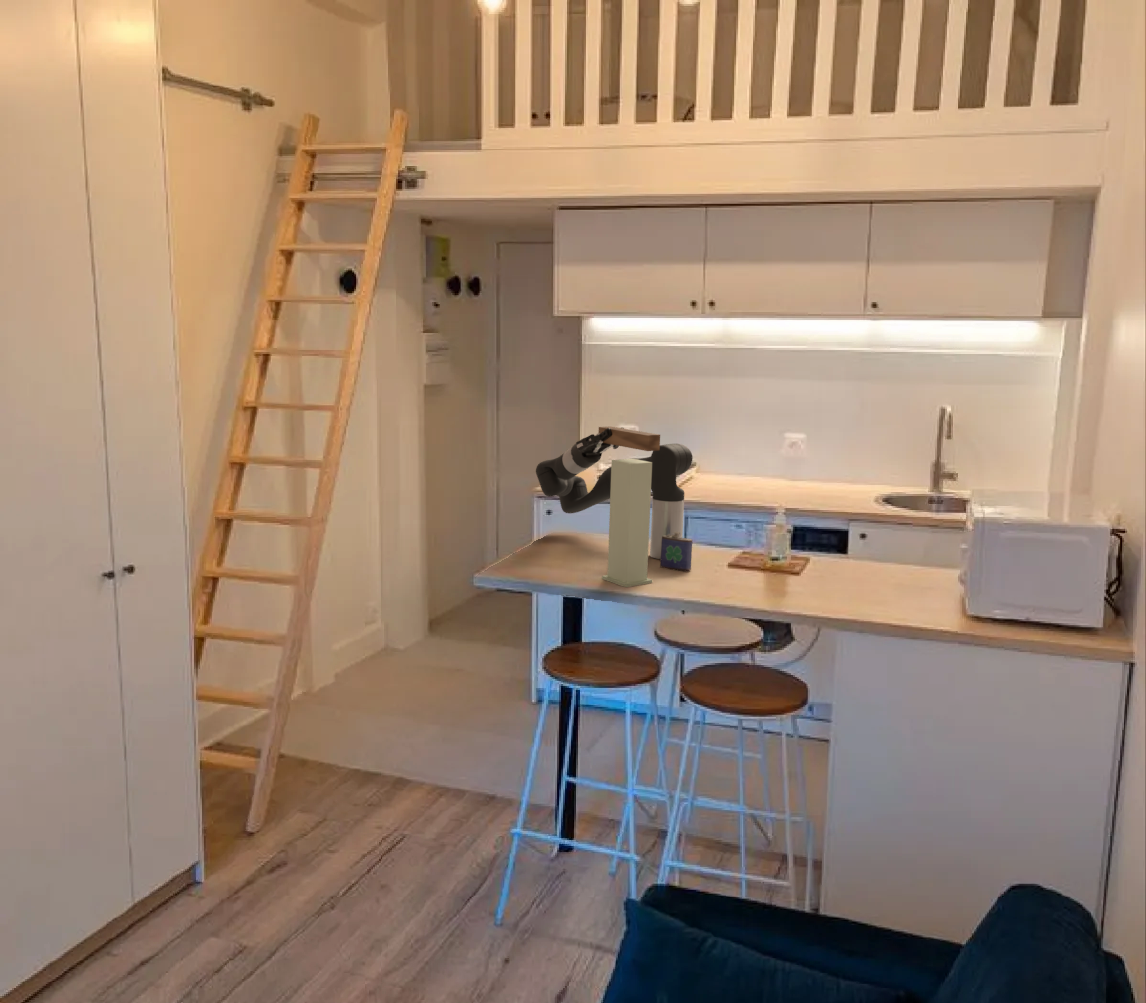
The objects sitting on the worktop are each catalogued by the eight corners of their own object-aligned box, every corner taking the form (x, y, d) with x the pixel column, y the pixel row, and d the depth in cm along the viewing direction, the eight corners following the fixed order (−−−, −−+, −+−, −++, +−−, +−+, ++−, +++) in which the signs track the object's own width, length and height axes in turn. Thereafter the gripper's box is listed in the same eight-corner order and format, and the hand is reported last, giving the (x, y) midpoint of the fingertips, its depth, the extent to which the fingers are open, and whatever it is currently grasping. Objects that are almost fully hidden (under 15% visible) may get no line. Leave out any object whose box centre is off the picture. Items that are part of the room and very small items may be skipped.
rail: (609, 441, 273) (610, 426, 273) (659, 450, 258) (660, 434, 257) (598, 441, 271) (598, 426, 270) (647, 451, 255) (648, 435, 255)
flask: (692, 570, 283) (694, 532, 281) (688, 572, 280) (689, 534, 279) (662, 565, 287) (663, 528, 286) (657, 567, 285) (659, 530, 283)
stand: (627, 574, 276) (632, 457, 270) (652, 582, 268) (657, 462, 262) (602, 578, 270) (606, 459, 265) (626, 587, 262) (631, 464, 257)
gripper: (605, 467, 284) (641, 442, 271) (564, 470, 275) (600, 445, 262) (597, 442, 286) (633, 417, 272) (557, 444, 277) (592, 418, 264)
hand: (617, 431), depth 267 cm, fingers closed on rail, 4 cm apart
